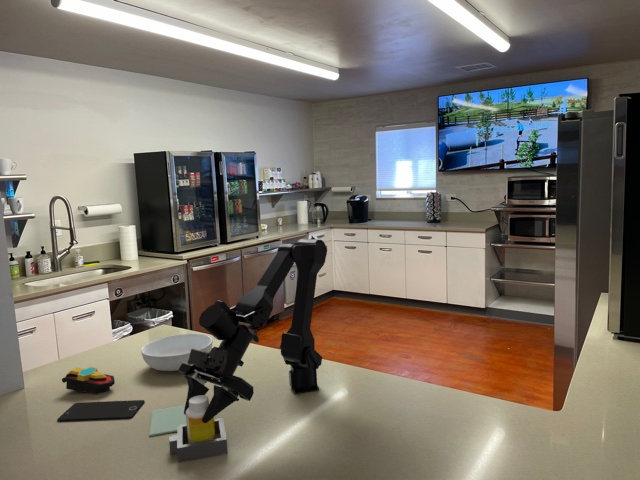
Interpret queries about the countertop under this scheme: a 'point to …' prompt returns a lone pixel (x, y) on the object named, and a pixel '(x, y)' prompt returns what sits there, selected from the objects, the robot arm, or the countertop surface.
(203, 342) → the serving bowl
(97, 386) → the gadget
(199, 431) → the supplement bottle
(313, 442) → the countertop surface
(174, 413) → the mat
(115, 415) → the cell phone
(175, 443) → the collar
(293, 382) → the robot arm
